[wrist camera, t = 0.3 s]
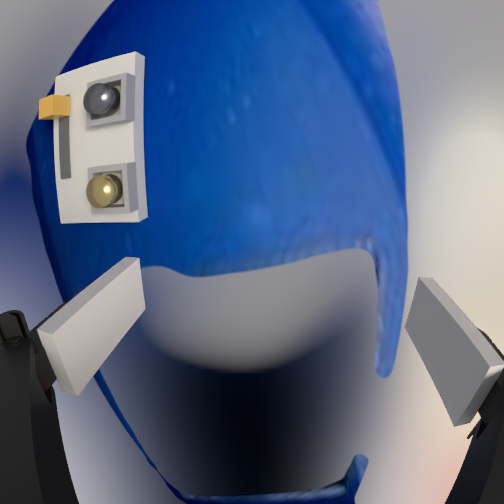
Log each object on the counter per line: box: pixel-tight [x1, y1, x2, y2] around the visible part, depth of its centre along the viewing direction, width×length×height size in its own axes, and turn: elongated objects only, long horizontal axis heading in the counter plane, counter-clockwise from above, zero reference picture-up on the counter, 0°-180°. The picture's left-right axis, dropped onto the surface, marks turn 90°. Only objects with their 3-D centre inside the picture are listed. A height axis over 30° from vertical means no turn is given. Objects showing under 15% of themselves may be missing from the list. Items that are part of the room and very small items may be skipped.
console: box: [54, 52, 148, 223], centre depth 36 cm, size 24×15×6 cm, turn 0°
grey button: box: [83, 83, 120, 115], centre depth 30 cm, size 4×4×3 cm
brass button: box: [86, 174, 123, 208], centre depth 34 cm, size 4×4×3 cm
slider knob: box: [39, 94, 70, 120], centre depth 32 cm, size 3×3×4 cm
